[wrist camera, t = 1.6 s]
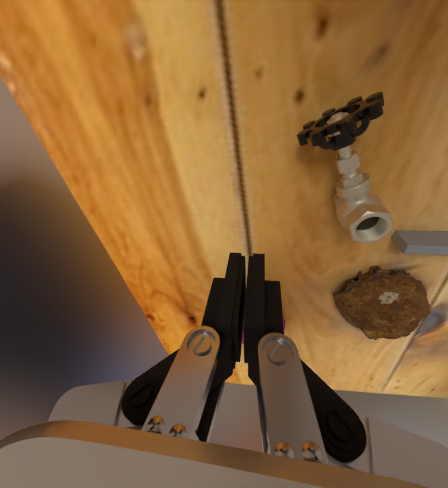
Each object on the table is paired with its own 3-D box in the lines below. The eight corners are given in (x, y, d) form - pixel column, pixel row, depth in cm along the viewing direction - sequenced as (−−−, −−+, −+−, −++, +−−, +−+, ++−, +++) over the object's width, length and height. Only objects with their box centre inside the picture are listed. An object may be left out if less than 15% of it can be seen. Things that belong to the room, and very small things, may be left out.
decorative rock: (431, 312, 35) (398, 248, 29) (450, 335, 31) (417, 268, 26) (358, 333, 40) (318, 282, 34) (367, 355, 36) (325, 302, 31)
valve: (384, 201, 25) (366, 89, 19) (416, 233, 20) (403, 93, 14) (324, 222, 27) (292, 128, 22) (338, 255, 22) (301, 143, 17)
